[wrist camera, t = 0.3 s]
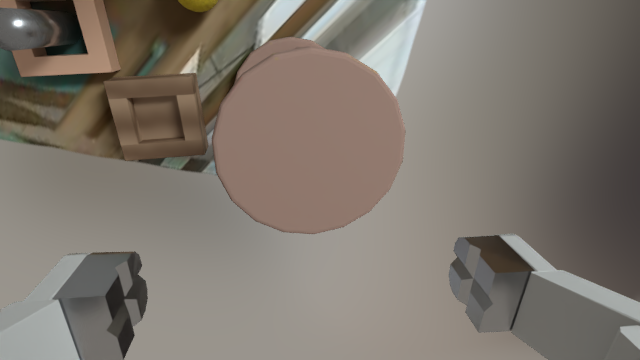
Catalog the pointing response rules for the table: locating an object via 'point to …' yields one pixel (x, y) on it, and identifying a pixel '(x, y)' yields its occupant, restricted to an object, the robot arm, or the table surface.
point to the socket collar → (94, 61)
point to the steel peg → (37, 29)
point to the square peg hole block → (157, 115)
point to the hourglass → (307, 137)
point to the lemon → (198, 4)
